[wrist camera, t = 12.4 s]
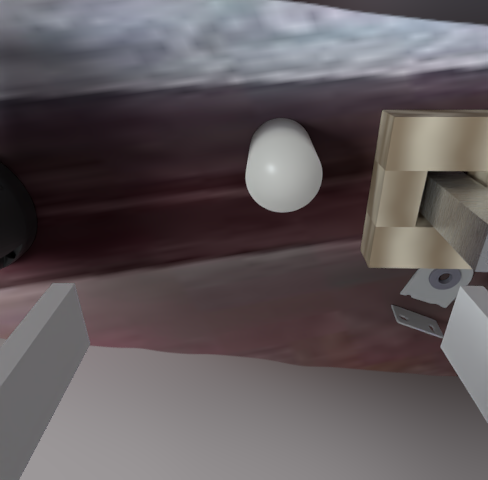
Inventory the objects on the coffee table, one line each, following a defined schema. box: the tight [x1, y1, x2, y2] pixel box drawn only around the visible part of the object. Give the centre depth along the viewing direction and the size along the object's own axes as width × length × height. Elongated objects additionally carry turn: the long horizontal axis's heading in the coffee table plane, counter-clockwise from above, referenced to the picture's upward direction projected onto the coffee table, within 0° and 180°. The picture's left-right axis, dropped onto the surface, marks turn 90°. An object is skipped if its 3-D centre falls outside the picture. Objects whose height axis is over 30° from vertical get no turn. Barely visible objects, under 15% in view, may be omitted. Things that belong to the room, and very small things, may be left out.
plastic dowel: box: [245, 118, 322, 212], centre depth 36 cm, size 6×6×9 cm
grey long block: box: [419, 171, 488, 272], centre depth 35 cm, size 4×4×14 cm
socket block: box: [361, 110, 488, 269], centre depth 39 cm, size 14×16×4 cm
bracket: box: [391, 268, 473, 338], centre depth 46 cm, size 7×10×4 cm, turn 159°
